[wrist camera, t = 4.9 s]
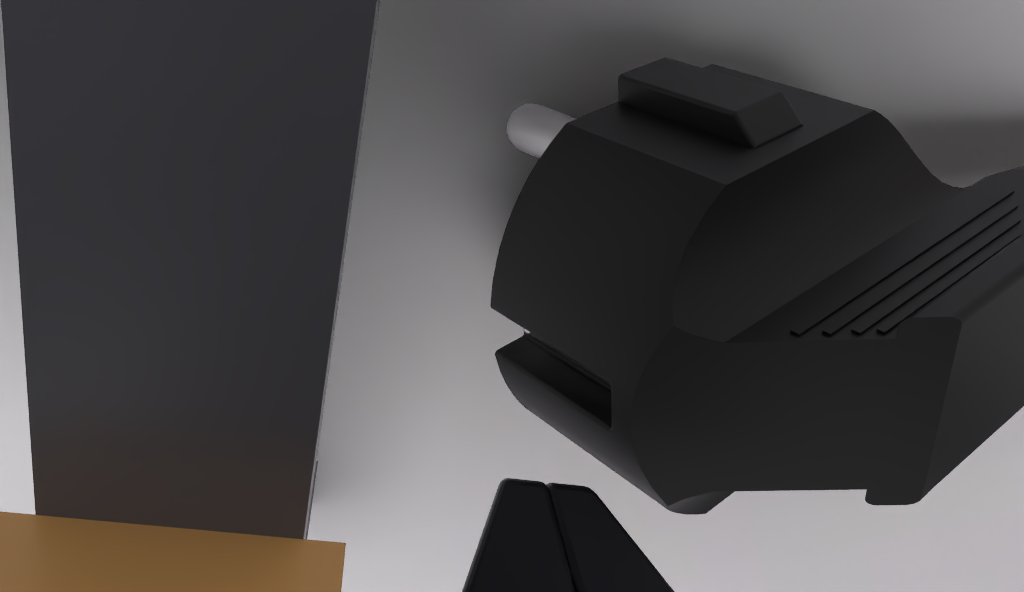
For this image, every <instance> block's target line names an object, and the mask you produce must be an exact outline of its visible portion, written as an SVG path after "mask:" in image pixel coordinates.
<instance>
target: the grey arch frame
mask: <svg viewBox="0 0 1024 592" xmlns="http://www.w3.org/2000/svg"><path fill="white" fill-rule="evenodd" d="M379 3H380V0H1V5H2V20H3V35H4V50H5V65H6V80H7V95H8V110H9V125H10V139H11V154H12V169H13V184H14V199H15V214H16V229H17V244H18V259H19V273H20V288H21V303H22V318H23V333H24V348H25V363H26V378H27V393H28V407H29V422H30V437H31V452H32V467H33V482H34V497H35V512H36V515H31V514H20V513H9V512H0V592H341V587H342V576H343V566H344V555H345V545H346V543H338V542H327V541H316V540H307V535H308V528H309V521H310V514H311V506H312V499H313V492H314V485H315V478H316V470H317V463H318V461H316V460H317V452H318V445H319V438H320V431H321V423H322V416H323V409H324V402H325V394H326V387H327V380H328V373H329V365H330V358H331V351H332V344H333V336H334V329H335V322H336V315H337V307H338V300H339V293H340V286H341V278H342V271H343V264H344V257H345V249H346V242H347V235H348V228H349V220H350V213H351V206H352V199H353V191H354V184H355V177H356V170H357V162H358V155H359V148H360V141H361V133H362V126H363V119H364V112H365V104H366V97H367V90H368V83H369V75H370V68H371V61H372V54H373V46H374V39H375V32H376V25H377V17H378V10H379Z"/></svg>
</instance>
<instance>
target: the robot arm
mask: <svg viewBox="0 0 1024 592" xmlns="http://www.w3.org/2000/svg"><path fill="white" fill-rule="evenodd" d="M462 592H674V591H673V589H672V588H671V587H670V586H669V584H668V583H667V582H666V581H665V579H664V578H663V577H662V576H661V574H660V573H659V572H658V571H657V569H656V568H655V567H654V566H653V564H652V563H651V562H650V561H649V559H648V558H647V557H646V556H645V554H644V553H643V552H642V551H641V549H640V548H639V547H638V546H637V544H636V543H635V542H634V541H633V539H632V538H631V537H630V536H629V534H628V533H627V532H626V531H625V529H624V528H623V527H622V526H621V524H620V523H619V522H618V520H617V519H616V518H615V517H614V515H613V514H612V513H611V512H610V510H609V509H608V508H607V507H606V505H605V504H604V503H603V502H602V500H601V499H600V498H599V497H598V495H597V494H596V493H595V492H594V491H593V490H591V489H590V488H588V487H585V486H577V485H567V484H558V483H549V484H547V485H545V484H544V483H543V482H538V481H529V480H519V479H510V478H507V479H504V480H502V481H501V482H500V484H499V486H498V489H497V492H496V495H495V498H494V501H493V504H492V506H491V509H490V512H489V515H488V518H487V521H486V524H485V527H484V530H483V533H482V535H481V538H480V541H479V544H478V547H477V550H476V553H475V556H474V559H473V562H472V564H471V567H470V570H469V573H468V576H467V579H466V582H465V585H464V588H463V591H462Z"/></svg>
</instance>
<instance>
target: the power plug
mask: <svg viewBox="0 0 1024 592" xmlns="http://www.w3.org/2000/svg"><path fill="white" fill-rule="evenodd" d="M618 92H619V102H617V103H615V104H612V105H610V106H607V107H605V108H602V109H600V110H597V111H595V112H592V113H590V114H587V115H585V116H582V117H580V118H577V119H576V118H573V117H571V116H568V115H565V114H563V113H560V112H557V111H555V110H552V109H549V108H547V107H544V106H542V105H539V104H533V103H527V104H523V105H521V106H519V107H518V108H516V109H515V110H514V111H513V112H512V113H511V115H510V117H509V119H508V121H507V128H506V130H507V133H508V137H509V140H510V142H511V143H512V144H513V145H514V146H515V147H516V148H517V149H518V150H520V151H522V152H525V153H527V154H529V155H531V156H534V157H536V158H538V159H539V160H538V162H537V163H536V165H535V167H534V169H533V170H532V172H531V174H530V175H529V177H528V179H527V181H526V183H525V185H524V186H523V189H522V191H521V193H520V195H519V197H518V199H517V201H516V203H515V206H514V208H513V210H512V213H511V215H510V218H509V220H508V223H507V226H506V229H505V232H504V235H503V239H502V242H501V245H500V249H499V253H498V257H497V261H496V267H495V272H494V277H493V284H492V295H491V308H493V309H494V310H496V311H497V312H499V313H501V314H502V315H504V316H505V317H507V318H509V319H510V320H512V321H513V322H515V323H517V324H518V325H520V326H521V327H523V328H524V335H523V336H522V337H521V338H519V339H517V340H515V341H513V342H511V343H509V344H508V345H506V346H504V347H502V348H500V349H498V350H497V351H496V353H495V356H496V359H497V362H498V365H499V369H500V372H501V374H502V376H503V378H504V380H505V382H506V384H507V386H508V388H509V389H510V391H511V392H512V394H513V395H514V396H515V397H516V399H517V400H518V401H519V402H520V403H521V404H522V405H523V406H524V407H525V408H526V409H528V410H529V411H530V412H532V413H533V414H535V415H536V416H538V417H539V418H540V419H542V420H543V421H545V422H546V423H547V424H549V425H550V426H552V427H553V428H554V429H556V430H557V431H559V432H560V433H561V434H563V435H564V436H566V437H567V438H568V439H570V440H571V441H573V442H574V443H575V444H577V445H578V446H580V447H581V448H583V449H584V450H585V451H587V452H588V453H590V454H591V455H592V456H594V457H595V458H597V459H598V460H599V461H601V462H602V463H604V464H605V465H606V466H608V467H609V468H611V469H612V470H613V471H615V472H616V473H618V474H619V475H620V476H622V477H623V478H625V479H626V480H627V481H629V482H630V483H632V484H633V485H634V486H636V487H637V488H639V489H640V490H641V491H643V492H644V493H646V494H647V495H648V496H650V497H651V498H653V499H654V500H655V501H657V502H658V503H660V504H661V505H662V506H664V507H665V508H666V509H668V510H670V511H672V512H676V513H681V514H706V513H707V512H708V511H710V510H711V509H712V508H713V507H715V506H716V505H717V504H719V503H720V502H721V501H723V500H724V499H725V498H727V497H728V496H729V495H731V494H732V493H733V492H734V491H776V490H849V489H867V492H866V497H865V501H866V502H867V503H869V504H872V505H908V504H914V503H916V502H918V501H920V500H921V499H922V498H923V497H924V496H925V495H926V494H927V493H928V492H929V491H930V490H931V489H932V488H933V487H934V486H935V485H937V484H938V483H939V482H940V481H941V480H942V479H943V478H944V477H945V476H947V475H948V474H949V473H950V472H951V471H952V470H953V469H954V468H955V467H957V466H958V465H959V464H960V463H961V462H962V461H963V460H964V459H965V458H967V457H968V456H969V455H970V454H971V453H972V452H973V451H974V450H975V449H976V448H978V447H979V446H980V445H981V444H982V443H983V442H984V441H985V440H986V439H988V438H989V437H990V436H991V435H992V434H993V433H994V432H995V431H996V430H998V429H999V428H1000V427H1001V426H1002V425H1003V424H1004V423H1005V422H1006V421H1008V420H1009V419H1010V418H1011V417H1012V416H1013V415H1014V414H1015V413H1016V412H1018V411H1019V410H1020V409H1021V408H1022V407H1023V406H1024V166H1022V167H1018V168H1015V169H1011V170H1008V171H1004V172H1000V173H997V174H994V175H991V176H988V177H985V178H983V179H982V180H980V181H978V182H977V183H975V184H974V185H972V186H969V187H966V188H957V187H952V186H949V185H947V184H945V183H942V182H941V181H940V180H938V179H937V178H936V177H935V176H933V175H932V174H931V172H930V171H929V170H928V169H927V168H926V167H925V166H924V165H923V163H922V162H921V161H920V160H919V158H918V157H917V156H916V154H915V153H914V152H913V150H912V149H911V148H910V146H909V145H908V144H907V142H906V141H905V140H904V138H903V137H902V136H901V134H900V133H899V132H898V130H897V129H896V128H895V127H894V126H893V125H892V124H891V123H890V122H889V121H888V120H887V119H886V118H885V117H883V116H882V115H881V114H880V113H878V112H876V111H875V110H871V109H868V108H864V107H861V106H857V105H854V104H850V103H847V102H843V101H840V100H836V99H833V98H829V97H826V96H822V95H819V94H815V93H812V92H808V91H804V90H801V89H797V88H794V87H790V86H787V85H783V84H780V83H776V82H773V81H769V80H766V79H762V78H759V77H755V76H752V75H748V74H745V73H741V72H738V71H734V70H731V69H727V68H724V67H720V66H717V65H713V64H712V65H709V66H707V67H704V68H699V67H696V66H692V65H689V64H686V63H682V62H679V61H675V60H672V59H668V58H663V59H660V60H658V61H655V62H652V63H650V64H647V65H644V66H642V67H639V68H637V69H634V70H631V71H629V72H626V73H624V74H621V75H620V76H619V79H618Z"/></svg>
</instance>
